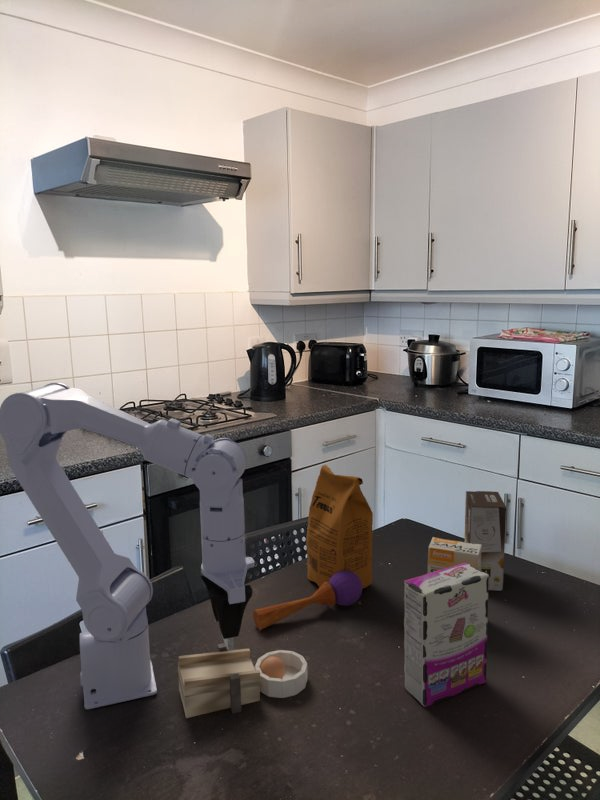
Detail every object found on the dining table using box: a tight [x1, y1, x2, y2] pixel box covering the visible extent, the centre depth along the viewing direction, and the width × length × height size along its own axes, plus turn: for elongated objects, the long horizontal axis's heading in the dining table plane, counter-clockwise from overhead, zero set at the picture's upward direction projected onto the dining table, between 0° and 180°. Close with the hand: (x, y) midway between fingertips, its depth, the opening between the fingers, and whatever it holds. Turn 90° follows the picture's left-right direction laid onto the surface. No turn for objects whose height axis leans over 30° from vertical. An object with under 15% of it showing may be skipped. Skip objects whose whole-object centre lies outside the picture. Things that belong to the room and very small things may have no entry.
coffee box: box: [463, 490, 507, 592], centre depth 116 cm, size 9×6×16 cm
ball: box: [261, 656, 285, 679], centre depth 87 cm, size 3×3×3 cm
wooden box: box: [177, 642, 261, 719], centre depth 84 cm, size 10×9×5 cm
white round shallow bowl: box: [254, 649, 308, 699], centre depth 88 cm, size 7×7×2 cm
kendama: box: [252, 570, 363, 631], centre depth 105 cm, size 6×6×20 cm
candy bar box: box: [403, 563, 489, 708], centre depth 85 cm, size 11×5×16 cm, turn 117°
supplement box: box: [426, 536, 482, 574], centre depth 102 cm, size 8×5×13 cm, turn 68°
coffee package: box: [305, 464, 374, 589], centre depth 115 cm, size 10×12×22 cm
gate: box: [221, 635, 235, 651], centre depth 84 cm, size 2×4×5 cm, turn 19°
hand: (226, 627), depth 84 cm, fingers closed on gate, 4 cm apart
